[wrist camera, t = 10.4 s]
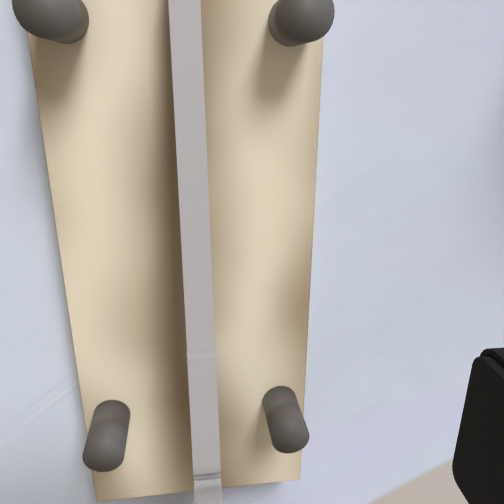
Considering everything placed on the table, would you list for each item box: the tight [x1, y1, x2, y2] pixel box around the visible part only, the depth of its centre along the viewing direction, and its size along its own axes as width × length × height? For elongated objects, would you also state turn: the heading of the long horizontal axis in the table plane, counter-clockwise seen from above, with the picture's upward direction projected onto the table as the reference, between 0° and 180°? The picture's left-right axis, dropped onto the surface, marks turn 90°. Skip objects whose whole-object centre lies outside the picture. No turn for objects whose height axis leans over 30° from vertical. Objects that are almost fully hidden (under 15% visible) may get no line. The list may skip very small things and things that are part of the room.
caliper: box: [168, 0, 223, 504], centre depth 16 cm, size 20×1×6 cm, turn 0°
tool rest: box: [12, 0, 334, 501], centre depth 19 cm, size 10×26×4 cm, turn 0°
